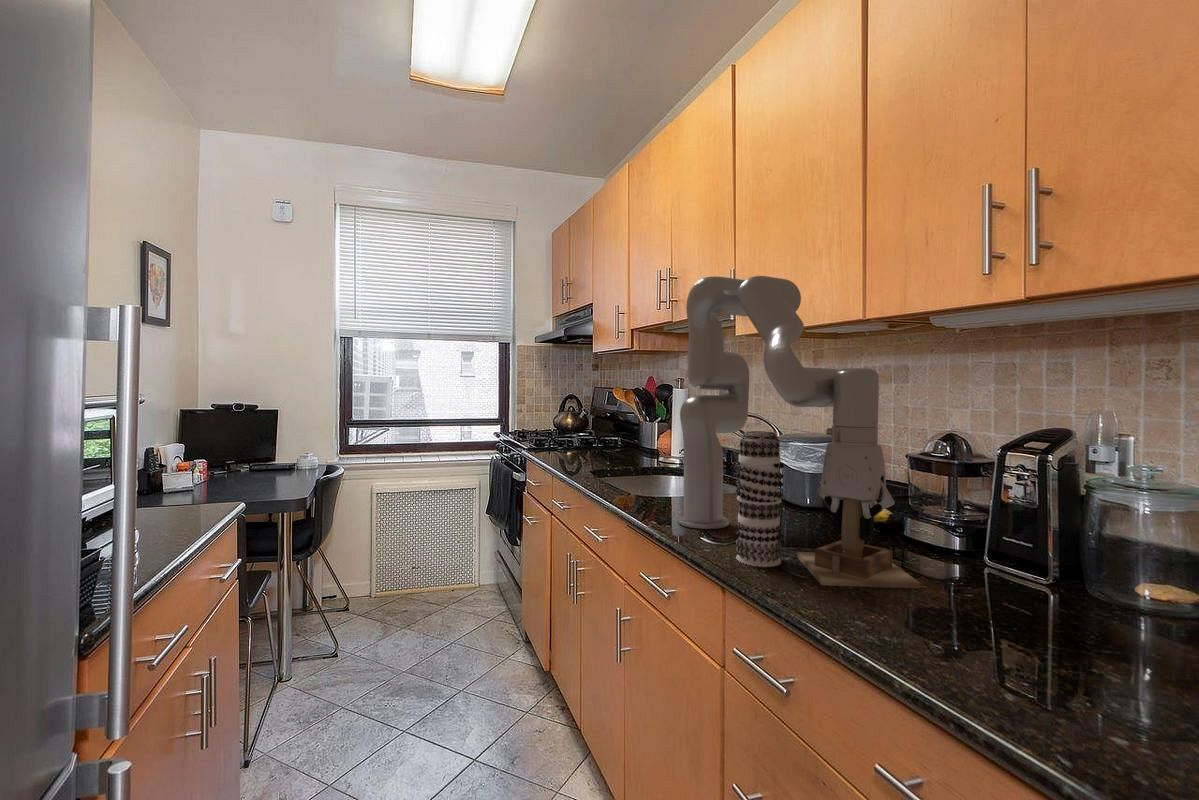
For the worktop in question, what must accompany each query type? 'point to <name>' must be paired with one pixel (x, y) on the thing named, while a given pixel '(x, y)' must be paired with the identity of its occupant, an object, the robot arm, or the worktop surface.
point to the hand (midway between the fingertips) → (852, 535)
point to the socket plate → (849, 580)
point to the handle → (852, 528)
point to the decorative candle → (759, 499)
